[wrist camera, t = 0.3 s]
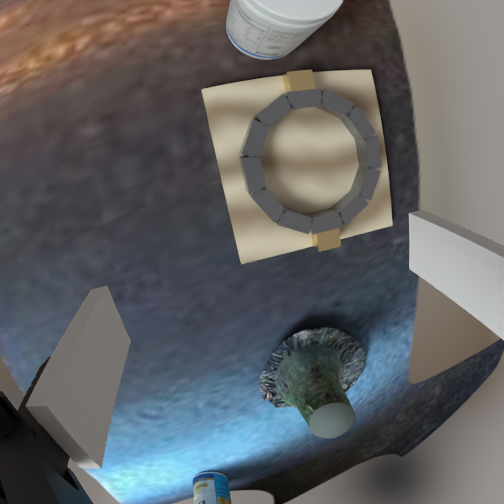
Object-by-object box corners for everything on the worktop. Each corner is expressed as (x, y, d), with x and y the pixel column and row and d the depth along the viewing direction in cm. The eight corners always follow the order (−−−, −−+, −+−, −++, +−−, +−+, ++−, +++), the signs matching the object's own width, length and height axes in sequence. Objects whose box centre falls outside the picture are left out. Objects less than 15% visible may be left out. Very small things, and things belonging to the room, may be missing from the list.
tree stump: (290, 420, 54) (299, 487, 36) (235, 343, 52) (226, 406, 34) (375, 376, 52) (412, 433, 35) (332, 290, 50) (367, 333, 32)
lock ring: (223, 85, 32) (224, 81, 30) (355, 70, 33) (364, 67, 31) (260, 258, 40) (264, 266, 38) (378, 228, 41) (387, 233, 39)
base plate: (201, 90, 33) (201, 89, 32) (366, 71, 35) (371, 69, 34) (240, 260, 41) (241, 264, 40) (388, 223, 43) (392, 225, 41)
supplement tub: (267, -12, 29) (299, -72, 15) (315, 37, 32) (369, -5, 19) (208, 24, 30) (213, -35, 16) (258, 76, 34) (291, 39, 20)
